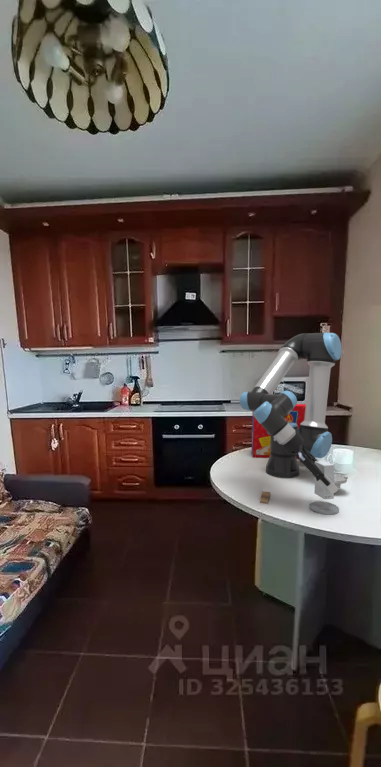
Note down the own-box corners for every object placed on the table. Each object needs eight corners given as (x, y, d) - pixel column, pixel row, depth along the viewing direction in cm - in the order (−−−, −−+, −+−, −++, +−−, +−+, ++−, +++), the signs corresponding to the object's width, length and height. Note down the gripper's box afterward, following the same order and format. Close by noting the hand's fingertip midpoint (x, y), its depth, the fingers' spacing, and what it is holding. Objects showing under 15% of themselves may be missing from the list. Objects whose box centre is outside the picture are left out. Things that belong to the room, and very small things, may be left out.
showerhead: (344, 480, 140) (318, 474, 146) (343, 498, 141) (317, 492, 147) (351, 474, 147) (326, 468, 154) (350, 491, 148) (325, 485, 154)
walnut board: (262, 493, 146) (262, 491, 146) (270, 493, 145) (270, 491, 145) (259, 502, 136) (259, 500, 136) (267, 503, 135) (268, 501, 135)
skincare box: (334, 498, 128) (336, 465, 127) (323, 500, 127) (324, 465, 126) (323, 492, 134) (325, 459, 133) (312, 493, 133) (314, 460, 132)
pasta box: (252, 457, 195) (253, 405, 192) (251, 453, 203) (252, 403, 200) (306, 459, 192) (308, 406, 190) (303, 455, 200) (305, 404, 198)
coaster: (308, 501, 138) (308, 499, 138) (337, 504, 135) (337, 503, 135) (309, 512, 128) (309, 510, 128) (340, 516, 125) (340, 514, 125)
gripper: (282, 439, 143) (324, 484, 140) (279, 452, 124) (328, 505, 121) (296, 426, 141) (340, 472, 138) (296, 438, 122) (346, 491, 119)
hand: (334, 487), depth 130 cm, fingers closed on skincare box, 7 cm apart
